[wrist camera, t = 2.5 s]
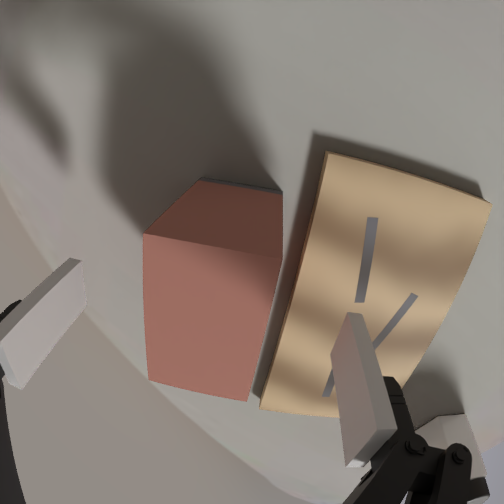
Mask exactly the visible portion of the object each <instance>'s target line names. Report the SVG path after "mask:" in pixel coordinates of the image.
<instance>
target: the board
mask: <svg viewBox="0 0 504 504" xmlns="http://www.w3.org/2000/svg"><path fill="white" fill-rule="evenodd" d="M492 205H493V204H491V203H490V202H488V201H486V200H485V199H482V198H480V197H477V196H475V195H472V194H469V193H467V192H464V191H461V190H459V189H456V188H453V187H450V186H447V185H445V184H442V183H439V182H436V181H433V180H430V179H427V178H424V177H421V176H417V175H414V174H411V173H408V172H405V171H401V170H398V169H395V168H391V167H388V166H384V165H381V164H377V163H373V162H370V161H366V160H362V159H358V158H354V157H350V156H346V155H342V154H338V153H334V152H330V151H326V152H325V157H324V161H323V166H322V170H321V175H320V179H319V183H318V188H317V192H316V196H315V201H314V205H313V209H312V213H311V217H310V222H309V226H308V230H307V234H306V238H305V242H304V246H303V250H302V254H301V258H300V261H299V265H298V269H297V273H296V277H295V280H294V284H293V288H292V292H291V295H290V299H289V303H288V306H287V310H286V313H285V317H284V321H283V324H282V328H281V331H280V335H279V338H278V342H277V345H276V348H275V352H274V355H273V359H272V362H271V365H270V369H269V372H268V375H267V378H266V382H265V385H264V388H263V391H262V395H261V398H260V405H259V409H262V410H269V411H276V412H284V413H293V414H302V415H312V416H323V417H337V418H340V417H339V410H338V403H337V396H336V389H335V382H334V376H333V370H332V363H331V357H330V353H331V351H332V349H333V346H334V344H335V341H336V339H337V337H338V334H339V332H340V329H341V327H342V324H343V322H344V319H345V317H346V314H347V312H353V313H360V314H362V315H363V318H364V321H365V324H366V327H367V329H368V332H369V335H370V338H371V341H372V344H373V347H374V351H375V354H376V357H377V360H378V363H379V366H380V369H381V373H382V376H391V377H394V378H395V380H396V381H397V382H398V383H399V385H400V386H401V389H402V387H403V386H404V385H405V383H406V382H407V380H408V379H409V377H410V375H411V374H412V372H413V371H414V369H415V368H416V366H417V365H418V363H419V361H420V360H421V358H422V356H423V355H424V353H425V352H426V350H427V348H428V346H429V345H430V343H431V341H432V340H433V338H434V336H435V334H436V333H437V331H438V329H439V327H440V325H441V323H442V322H443V320H444V318H445V316H446V314H447V312H448V310H449V308H450V306H451V304H452V302H453V300H454V298H455V296H456V294H457V292H458V290H459V288H460V286H461V284H462V281H463V279H464V277H465V275H466V273H467V270H468V268H469V266H470V263H471V261H472V259H473V256H474V254H475V251H476V249H477V246H478V244H479V241H480V239H481V236H482V233H483V231H484V228H485V225H486V222H487V220H488V217H489V214H490V211H491V208H492Z"/></svg>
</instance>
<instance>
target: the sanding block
mask: <svg viewBox="0 0 504 504" xmlns="http://www.w3.org/2000/svg"><path fill="white" fill-rule="evenodd" d="M282 259H283V192H282V191H277V190H272V189H266V188H261V187H255V186H250V185H244V184H238V183H233V182H227V181H221V180H214V179H208V178H202V177H201V178H200V179H199V180H198V181H197V182H196V183H195V184H194V185H193V186H192V187H190V188H189V189H188V190H187V191H186V192H185V193H184V194H183V195H182V196H181V197H180V198H179V199H178V200H177V201H176V202H174V203H173V204H172V205H171V206H170V207H169V208H168V209H167V210H166V211H165V212H164V213H163V214H162V215H161V216H160V217H159V218H158V219H157V220H156V221H155V222H154V223H153V224H152V225H151V226H150V227H149V228H148V229H147V230H146V231H145V232H144V233H143V300H144V324H145V341H146V355H147V367H148V378H149V380H151V381H154V382H158V383H162V384H166V385H170V386H174V387H178V388H182V389H186V390H190V391H195V392H199V393H204V394H209V395H213V396H218V397H224V398H229V399H234V400H240V401H246V402H247V399H248V396H249V392H250V388H251V384H252V381H253V377H254V373H255V369H256V365H257V361H258V358H259V354H260V350H261V346H262V342H263V338H264V334H265V330H266V326H267V322H268V318H269V314H270V310H271V306H272V301H273V297H274V293H275V289H276V285H277V281H278V276H279V272H280V268H281V264H282Z"/></svg>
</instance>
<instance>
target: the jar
mask: <svg viewBox="0 0 504 504" xmlns="http://www.w3.org/2000/svg"><path fill="white" fill-rule="evenodd" d="M415 433H416V434H418V435H420V436H422V437H423V438H424V439H425V440H426V442H427V444H428V446H431V447H436V448H440V449H445V450H446V449H447V448H448V447H449V446H450V445H451V444H454V443H461V444H463V445H465V446H466V447H467V448H468V449H469V450H470V452H471V454H472V468H471V478H470V486H469V494H468V500H467V504H482V503H484V502H485V501H486V500H487V499H488V498H489V496H490V493H489V489H488V486H487V483H486V479H485V477H486V475H487V472H486V469H485V466H484V463H483V460H482V457H481V454H480V451H479V448H478V445H477V443H476V440H475V437H474V434H473V432H472V429H471V426H470V424H469V421H468V419H467V416H466V414H459V415H447V416H438V417H436V418H434V419H433V420H431V421H430V422H428V423H427V424H425V425H424V426H422V427H420V428H419V429H417V430H416V431H415Z"/></svg>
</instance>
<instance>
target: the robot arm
mask: <svg viewBox="0 0 504 504" xmlns="http://www.w3.org/2000/svg"><path fill="white" fill-rule="evenodd" d="M86 306H87V301H86V293H85V286H84V277H83V268H82V261H81V260H77V259H73V258H69V259H68V260H67V261H66V262H64V263H63V264H62V265H61V266H60V267H59V268H58V269H56V270H55V271H54V272H53V273H52V274H51V275H50V276H48V277H47V278H46V279H45V280H44V281H43V282H42V283H41V284H40V285H39V286H37V287H36V288H35V289H34V290H33V291H32V292H31V293H30V294H29V295H28V296H27V297H26V298H25V299H24V300H18V301H16V302H14V303H12V304H11V305H9V306H8V307H7V308H6V309H5V310H4V312H2V313H1V314H0V504H26V502H25V499H24V496H23V492H22V489H21V485H20V481H19V478H18V474H17V469H16V465H15V461H14V456H13V451H12V446H11V441H10V435H9V429H8V422H7V415H6V406H5V398H4V386H3V382H2V377H3V376H4V375H5V376H6V378H7V380H8V382H9V384H11V385H13V386H15V387H17V388H19V389H20V390H22V389H23V388H24V386H25V385H26V384H27V382H28V381H29V379H30V378H31V377H32V375H33V374H34V372H35V371H36V370H37V368H38V367H39V366H40V364H41V363H42V362H43V360H44V359H45V358H46V356H47V355H48V353H49V352H50V351H51V350H52V348H53V347H54V346H55V345H56V343H57V342H58V341H59V339H60V338H61V337H62V336H63V334H64V333H65V332H66V331H67V329H68V328H69V327H70V325H71V324H72V323H73V322H74V321H75V319H76V318H77V317H78V316H79V314H80V313H81V312H82V311H83V310H84V308H85V307H86ZM330 357H331V363H332V370H333V376H334V382H335V389H336V396H337V403H338V410H339V417H340V425H341V433H342V441H343V449H344V458H345V467H364V466H365V465H366V464H367V463H368V462H369V461H371V467H372V468H371V469H370V470H369V471H368V472H367V473H366V474H365V475H364V476H363V477H362V478H361V482H360V483H359V484H358V486H357V487H356V488H355V489H354V490H353V492H352V493H351V494H350V495H349V497H348V498H347V499H346V500H345V501H344V502H343V504H400V503H401V502H402V500H403V498H404V497H405V495H406V493H407V492H408V494H407V497H406V500H405V504H467V500H468V494H469V486H470V478H471V468H472V454H471V452H470V450H469V449H468V448H467V447H466V446H465V445H463V444H461V443H454V444H451V445H450V446H449V447H448V448H447V449H446V450H445V449H440V448H436V447H431V446H428V444H427V442H426V440H425V439H424V438H423V437H422V436H420V435H418V434H416V433H415V431H414V427H413V424H412V421H411V417H410V414H409V411H408V408H407V405H406V402H405V398H404V397H403V392H402V389H401V386H400V385H399V383H398V382H397V381H396V380H395V378H394V377H391V376H382V373H381V369H380V366H379V363H378V360H377V357H376V354H375V351H374V347H373V344H372V341H371V338H370V335H369V332H368V329H367V327H366V324H365V321H364V318H363V315H362V314H360V313H353V312H347V314H346V317H345V319H344V322H343V324H342V327H341V329H340V332H339V334H338V337H337V339H336V341H335V344H334V346H333V349H332V351H331V353H330Z"/></svg>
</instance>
